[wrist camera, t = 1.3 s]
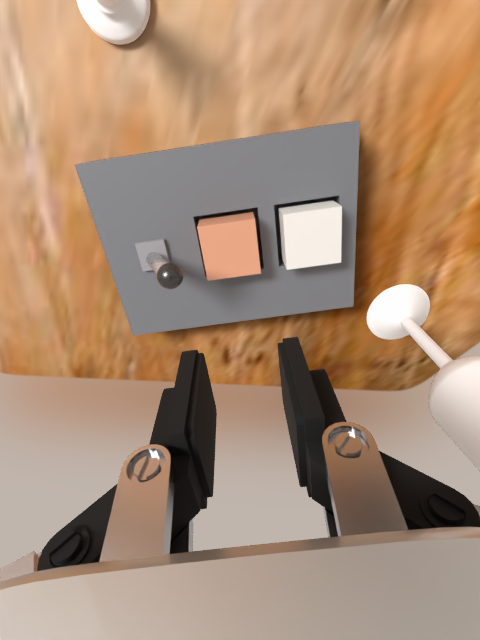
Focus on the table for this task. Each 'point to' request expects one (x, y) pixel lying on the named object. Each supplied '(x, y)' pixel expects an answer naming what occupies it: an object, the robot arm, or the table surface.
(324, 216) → the button white
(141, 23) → the chess piece
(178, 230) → the panel
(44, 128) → the table surface
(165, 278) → the toggle lever
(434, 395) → the champagne flute
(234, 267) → the button terracotta
